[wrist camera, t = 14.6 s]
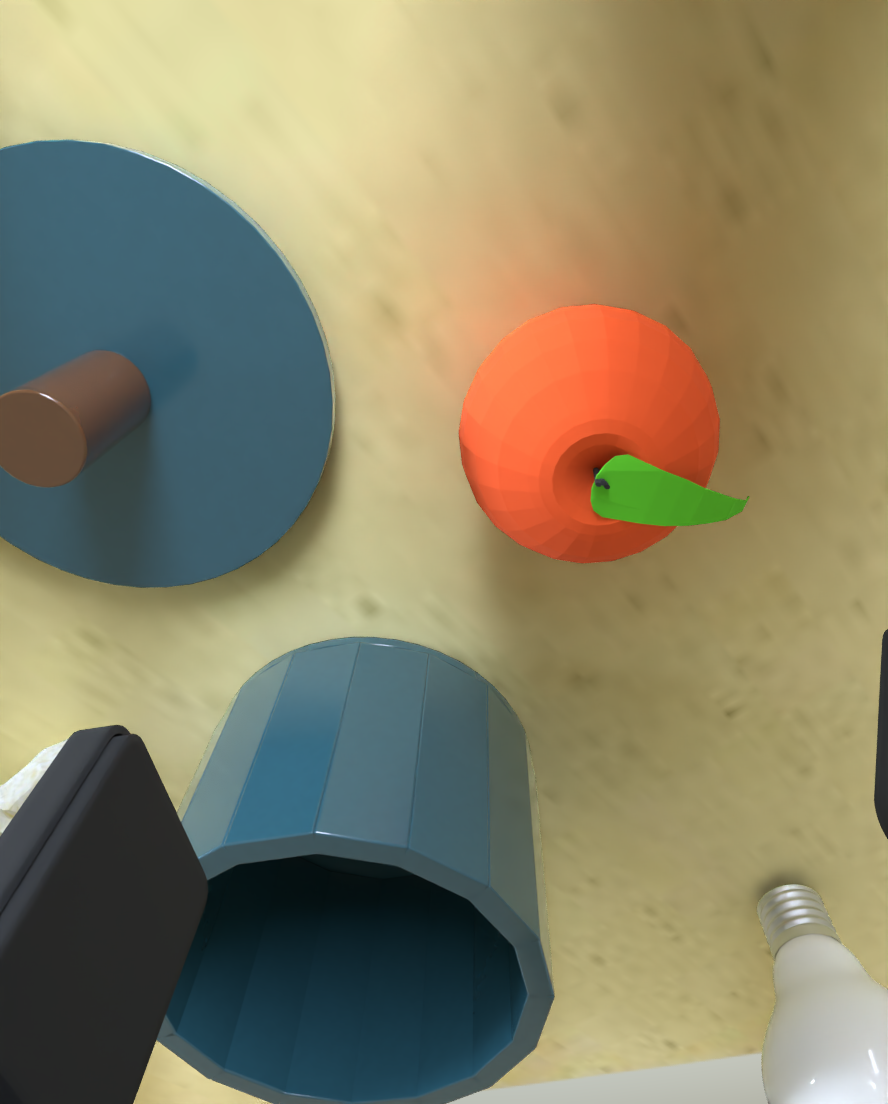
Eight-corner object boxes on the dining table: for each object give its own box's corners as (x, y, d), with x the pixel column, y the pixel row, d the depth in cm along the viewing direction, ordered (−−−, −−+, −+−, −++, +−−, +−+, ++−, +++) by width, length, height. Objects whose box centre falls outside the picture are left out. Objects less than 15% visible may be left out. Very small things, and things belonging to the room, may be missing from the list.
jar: (498, 609, 28) (505, 805, 20) (556, 860, 34) (581, 1098, 25) (170, 666, 30) (48, 869, 22) (275, 896, 35) (210, 1130, 27)
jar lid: (257, 82, 21) (186, 61, 16) (387, 532, 27) (365, 620, 22) (-183, 206, 23) (-370, 221, 18) (28, 601, 29) (-69, 697, 24)
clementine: (757, 334, 24) (858, 401, 17) (664, 535, 27) (721, 655, 20) (500, 254, 23) (508, 293, 17) (435, 470, 26) (420, 573, 20)
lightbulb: (684, 925, 35) (763, 1225, 25) (747, 824, 32) (864, 1118, 23) (816, 956, 36) (943, 1261, 26) (890, 860, 33) (1064, 1161, 23)
